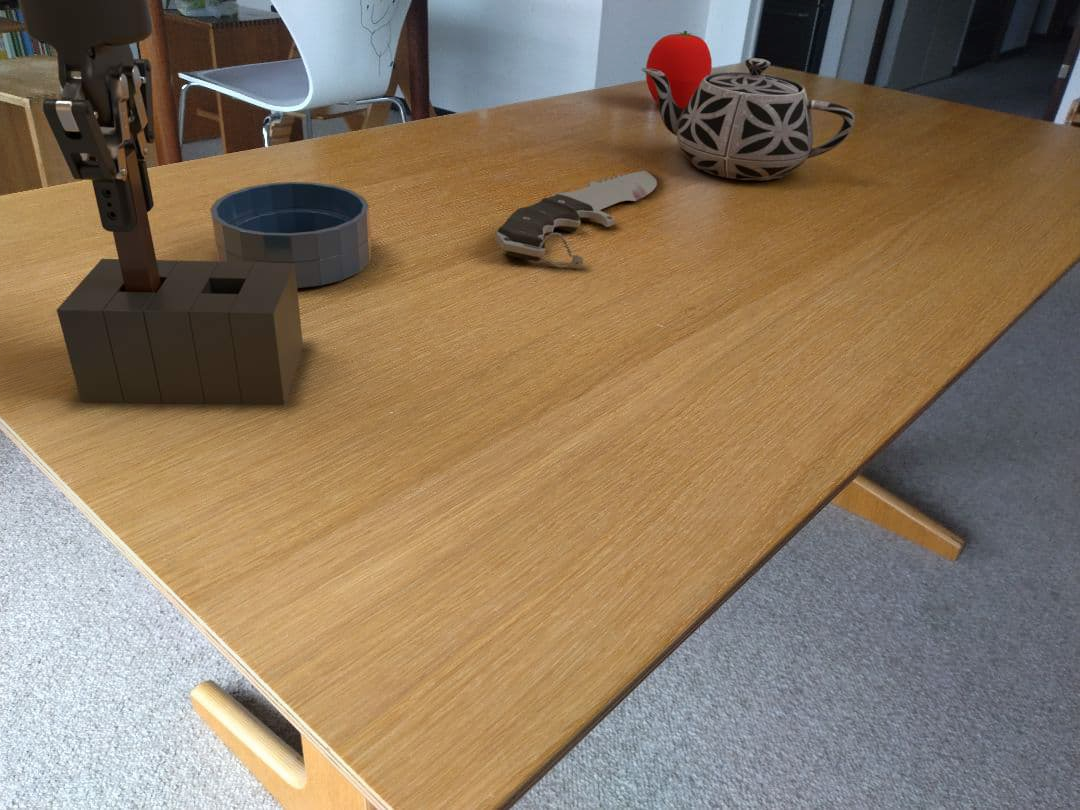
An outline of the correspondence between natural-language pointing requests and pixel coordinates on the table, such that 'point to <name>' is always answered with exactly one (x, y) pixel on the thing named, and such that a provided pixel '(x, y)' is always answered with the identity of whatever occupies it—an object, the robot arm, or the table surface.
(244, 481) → the table surface
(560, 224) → the knife
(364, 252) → the bowl
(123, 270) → the stick
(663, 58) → the tomato
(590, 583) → the table surface
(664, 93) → the teapot
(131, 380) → the holder
